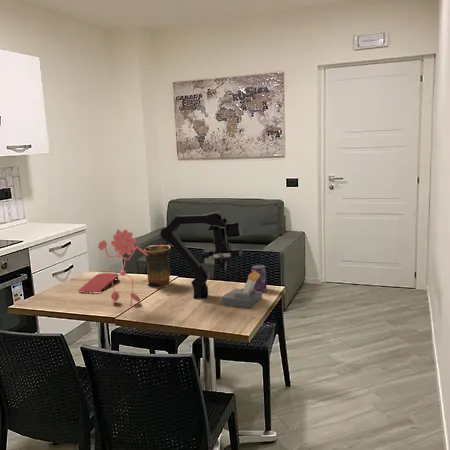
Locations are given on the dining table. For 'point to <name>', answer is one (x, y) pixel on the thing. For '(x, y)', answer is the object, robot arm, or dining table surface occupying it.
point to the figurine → (122, 245)
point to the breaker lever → (251, 282)
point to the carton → (99, 282)
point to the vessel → (158, 265)
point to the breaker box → (241, 298)
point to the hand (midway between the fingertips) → (224, 271)
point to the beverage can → (260, 282)
